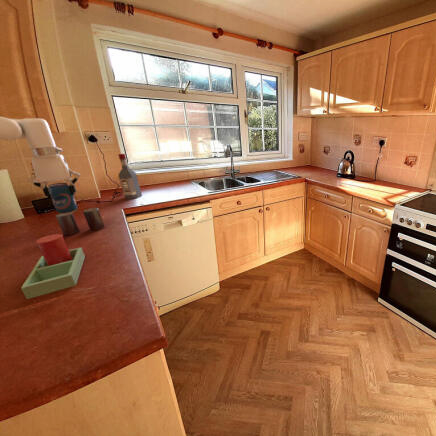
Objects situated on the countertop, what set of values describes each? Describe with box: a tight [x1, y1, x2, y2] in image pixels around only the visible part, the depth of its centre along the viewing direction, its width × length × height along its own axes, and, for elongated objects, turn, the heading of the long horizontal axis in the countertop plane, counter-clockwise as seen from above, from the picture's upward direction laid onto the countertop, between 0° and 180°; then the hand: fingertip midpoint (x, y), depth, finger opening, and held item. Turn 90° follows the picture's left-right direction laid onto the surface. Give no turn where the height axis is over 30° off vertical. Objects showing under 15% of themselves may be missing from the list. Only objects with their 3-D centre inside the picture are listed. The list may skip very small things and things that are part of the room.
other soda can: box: [35, 233, 73, 266], centre depth 86 cm, size 7×7×12 cm
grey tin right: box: [82, 207, 106, 232], centre depth 121 cm, size 6×6×10 cm
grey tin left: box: [55, 212, 81, 237], centre depth 116 cm, size 6×6×10 cm
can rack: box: [20, 247, 86, 300], centre depth 83 cm, size 12×22×5 cm, turn 32°
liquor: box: [118, 153, 143, 200], centre depth 168 cm, size 9×9×30 cm
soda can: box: [47, 182, 78, 214], centre depth 102 cm, size 7×7×12 cm
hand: (62, 195), depth 102 cm, fingers closed on soda can, 7 cm apart
